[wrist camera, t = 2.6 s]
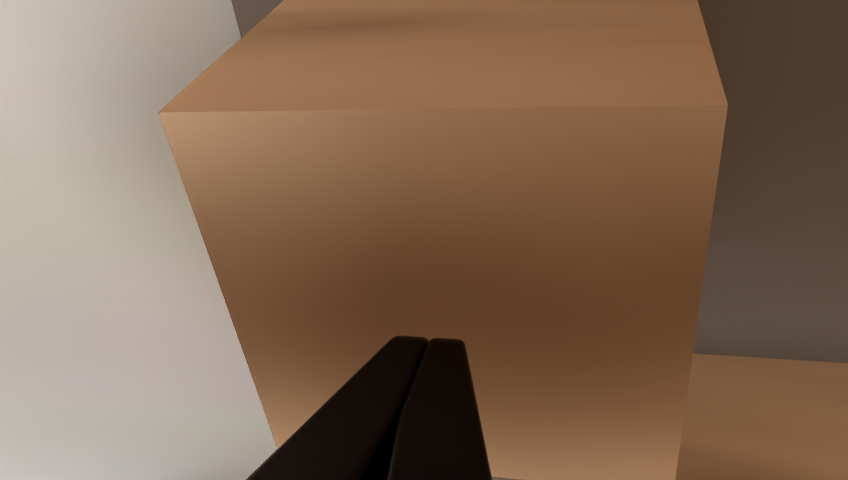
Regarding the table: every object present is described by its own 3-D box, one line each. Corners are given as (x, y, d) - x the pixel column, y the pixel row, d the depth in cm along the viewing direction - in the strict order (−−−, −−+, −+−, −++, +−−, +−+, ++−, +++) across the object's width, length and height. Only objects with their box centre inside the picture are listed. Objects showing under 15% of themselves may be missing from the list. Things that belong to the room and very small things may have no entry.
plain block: (653, 245, 15) (672, 495, 10) (376, 237, 16) (279, 454, 12) (680, -60, 11) (727, 105, 7) (325, -37, 13) (158, 113, 8)
